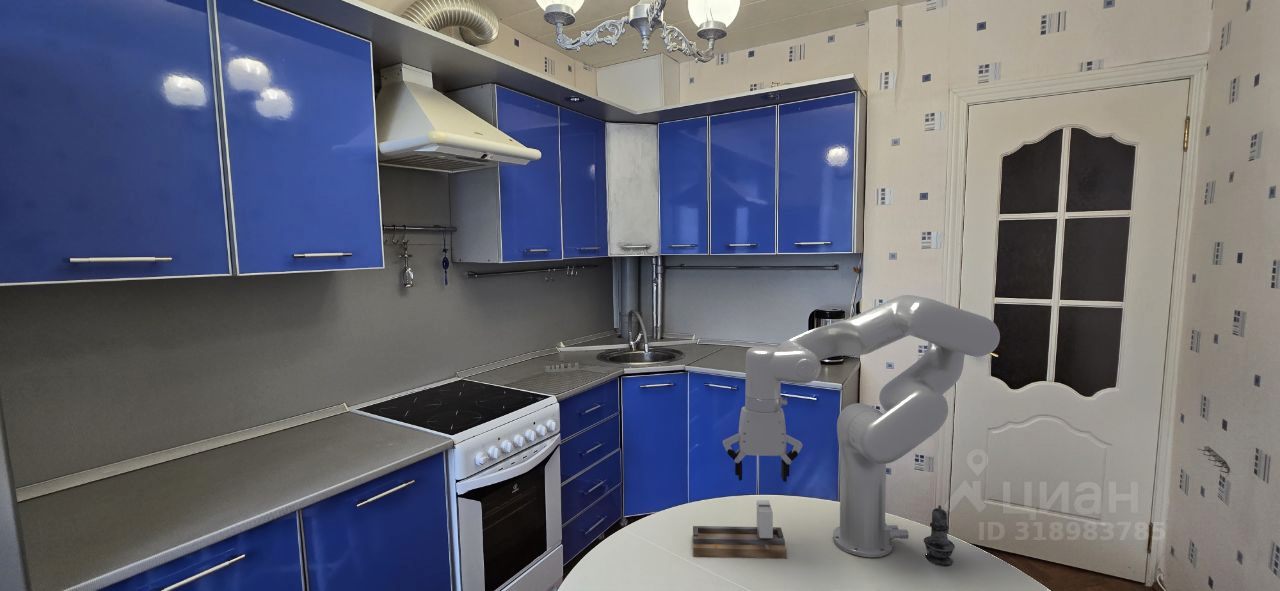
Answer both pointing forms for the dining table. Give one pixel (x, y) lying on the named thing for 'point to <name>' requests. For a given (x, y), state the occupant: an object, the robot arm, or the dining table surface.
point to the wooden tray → (737, 542)
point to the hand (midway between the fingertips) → (761, 478)
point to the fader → (764, 519)
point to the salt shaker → (939, 540)
